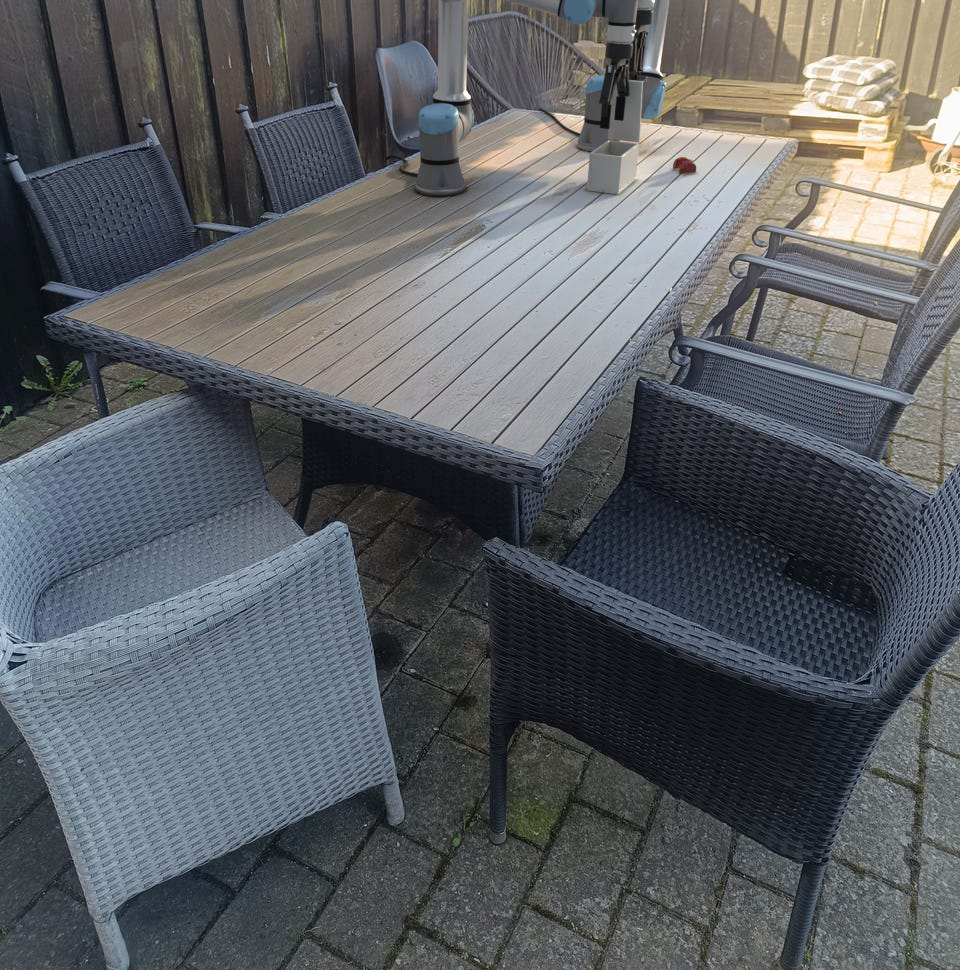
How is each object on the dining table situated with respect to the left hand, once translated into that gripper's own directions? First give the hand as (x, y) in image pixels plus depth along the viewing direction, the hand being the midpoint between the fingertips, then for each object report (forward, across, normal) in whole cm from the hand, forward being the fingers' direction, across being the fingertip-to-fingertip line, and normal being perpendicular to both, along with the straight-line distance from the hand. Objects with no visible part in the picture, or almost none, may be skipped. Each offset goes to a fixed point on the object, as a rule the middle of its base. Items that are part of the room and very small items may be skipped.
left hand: (611, 124), depth 248 cm
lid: (-2, +11, 0) cm, 11 cm away
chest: (+19, +5, 0) cm, 19 cm away
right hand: (-5, +17, 0) cm, 18 cm away
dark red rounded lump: (+18, +30, -16) cm, 39 cm away
